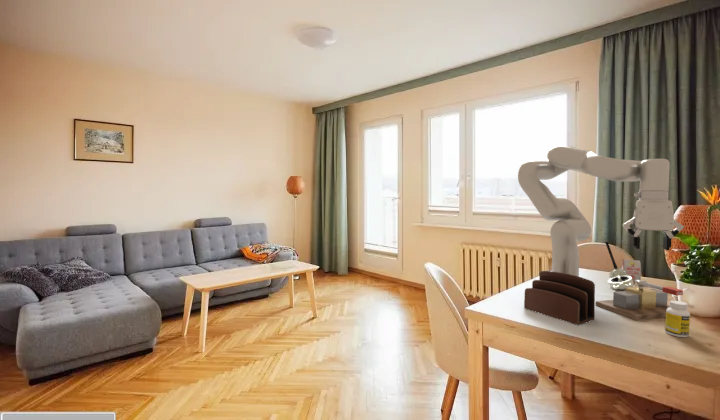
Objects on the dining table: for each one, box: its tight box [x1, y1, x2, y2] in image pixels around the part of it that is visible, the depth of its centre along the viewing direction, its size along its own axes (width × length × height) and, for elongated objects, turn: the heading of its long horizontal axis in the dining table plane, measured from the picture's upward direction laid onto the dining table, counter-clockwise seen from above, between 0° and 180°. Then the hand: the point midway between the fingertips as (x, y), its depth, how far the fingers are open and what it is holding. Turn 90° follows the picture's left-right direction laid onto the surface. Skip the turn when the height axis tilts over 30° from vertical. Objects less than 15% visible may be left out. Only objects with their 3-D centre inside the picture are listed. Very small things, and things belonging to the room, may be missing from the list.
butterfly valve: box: [604, 240, 635, 290], centre depth 160 cm, size 9×20×17 cm
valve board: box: [595, 299, 671, 321], centre depth 130 cm, size 22×16×2 cm
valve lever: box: [634, 279, 684, 297], centre depth 124 cm, size 15×3×2 cm, turn 12°
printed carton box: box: [621, 259, 642, 283], centre depth 170 cm, size 4×7×10 cm, turn 64°
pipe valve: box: [612, 285, 669, 310], centre depth 129 cm, size 18×6×8 cm, turn 102°
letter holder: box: [523, 270, 596, 326], centre depth 126 cm, size 10×20×14 cm, turn 30°
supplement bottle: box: [664, 300, 691, 338], centre depth 108 cm, size 5×5×10 cm
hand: (651, 248), depth 120 cm, fingers open, 7 cm apart
